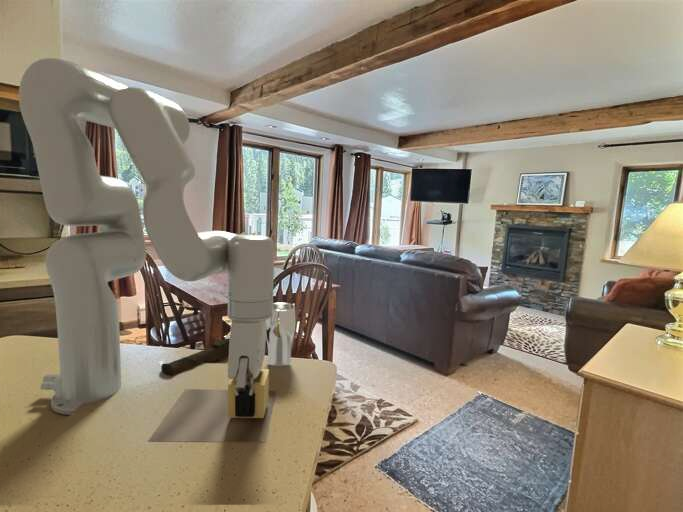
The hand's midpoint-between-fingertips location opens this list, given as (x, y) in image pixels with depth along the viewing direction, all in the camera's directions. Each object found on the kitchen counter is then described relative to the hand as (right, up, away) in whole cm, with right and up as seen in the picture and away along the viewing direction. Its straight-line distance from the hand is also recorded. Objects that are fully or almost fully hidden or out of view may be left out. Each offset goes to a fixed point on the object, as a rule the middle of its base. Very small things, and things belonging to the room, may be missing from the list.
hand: (248, 404), depth 65 cm
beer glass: (+2, 0, +22) cm, 22 cm away
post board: (-5, -3, 0) cm, 6 cm away
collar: (0, -1, 0) cm, 1 cm away
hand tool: (-17, 0, +21) cm, 27 cm away
